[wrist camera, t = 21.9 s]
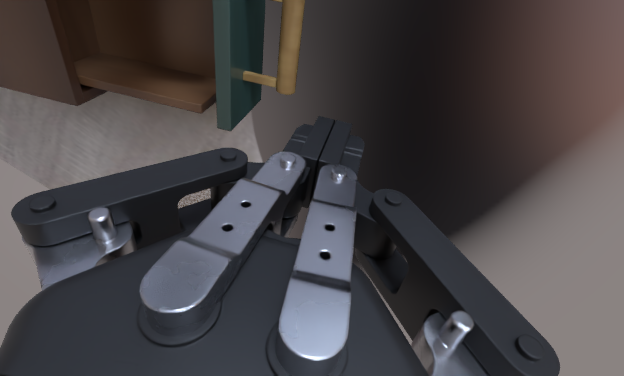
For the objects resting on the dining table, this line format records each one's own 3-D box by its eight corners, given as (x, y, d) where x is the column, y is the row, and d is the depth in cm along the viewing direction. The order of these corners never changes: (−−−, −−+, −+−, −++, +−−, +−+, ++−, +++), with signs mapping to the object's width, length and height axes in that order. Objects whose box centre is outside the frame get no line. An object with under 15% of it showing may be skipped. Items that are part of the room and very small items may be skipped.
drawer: (326, -68, 24) (301, -70, 19) (303, 109, 32) (281, 144, 27) (64, -114, 26) (-27, -128, 21) (106, 63, 34) (48, 86, 29)
